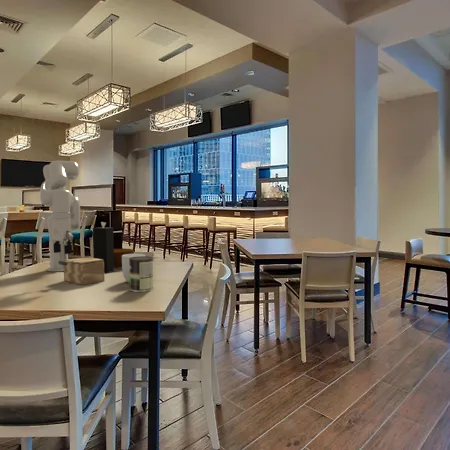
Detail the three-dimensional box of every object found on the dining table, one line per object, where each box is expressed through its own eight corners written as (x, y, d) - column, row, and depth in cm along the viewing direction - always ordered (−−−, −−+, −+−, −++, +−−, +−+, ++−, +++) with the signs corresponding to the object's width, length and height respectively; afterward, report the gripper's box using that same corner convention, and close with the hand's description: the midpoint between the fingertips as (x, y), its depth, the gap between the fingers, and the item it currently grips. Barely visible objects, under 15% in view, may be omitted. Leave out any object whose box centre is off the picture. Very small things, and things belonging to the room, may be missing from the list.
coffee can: (127, 292, 153) (127, 259, 152) (131, 286, 163) (131, 256, 163) (151, 291, 154) (151, 259, 153) (154, 286, 164) (154, 256, 163)
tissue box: (107, 273, 195) (106, 222, 193) (93, 272, 196) (92, 222, 195) (114, 270, 203) (113, 221, 201) (101, 270, 204) (100, 221, 203)
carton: (64, 280, 176) (63, 261, 175) (86, 277, 185) (85, 258, 185) (81, 285, 166) (81, 264, 166) (104, 281, 176) (104, 261, 175)
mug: (150, 277, 184) (149, 252, 183) (155, 282, 174) (155, 255, 173) (120, 280, 177) (119, 254, 176) (124, 285, 167) (124, 257, 166)
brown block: (140, 266, 218) (140, 249, 218) (117, 270, 204) (117, 253, 203) (120, 263, 228) (120, 247, 227) (97, 267, 213) (97, 251, 212)
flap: (52, 263, 171) (52, 259, 171) (86, 259, 185) (86, 255, 184) (69, 266, 162) (69, 263, 162) (103, 262, 175) (103, 258, 175)
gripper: (44, 216, 168) (45, 252, 168) (63, 216, 157) (64, 255, 158) (59, 216, 174) (60, 251, 174) (79, 216, 163) (80, 253, 164)
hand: (62, 253), depth 166 cm, fingers open, 9 cm apart
